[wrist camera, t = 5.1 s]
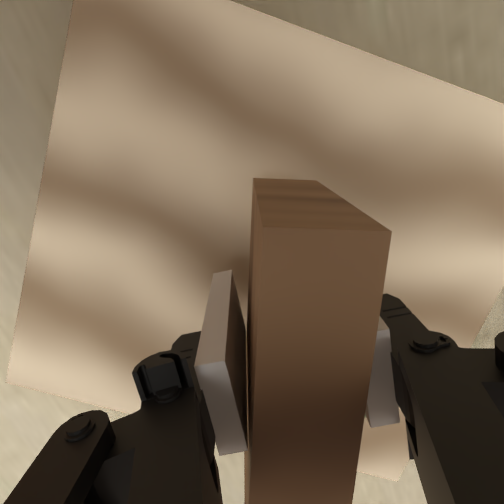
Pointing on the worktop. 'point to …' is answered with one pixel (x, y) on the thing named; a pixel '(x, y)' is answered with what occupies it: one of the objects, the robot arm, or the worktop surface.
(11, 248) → the worktop surface
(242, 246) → the plate
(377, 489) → the worktop surface
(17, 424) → the worktop surface
